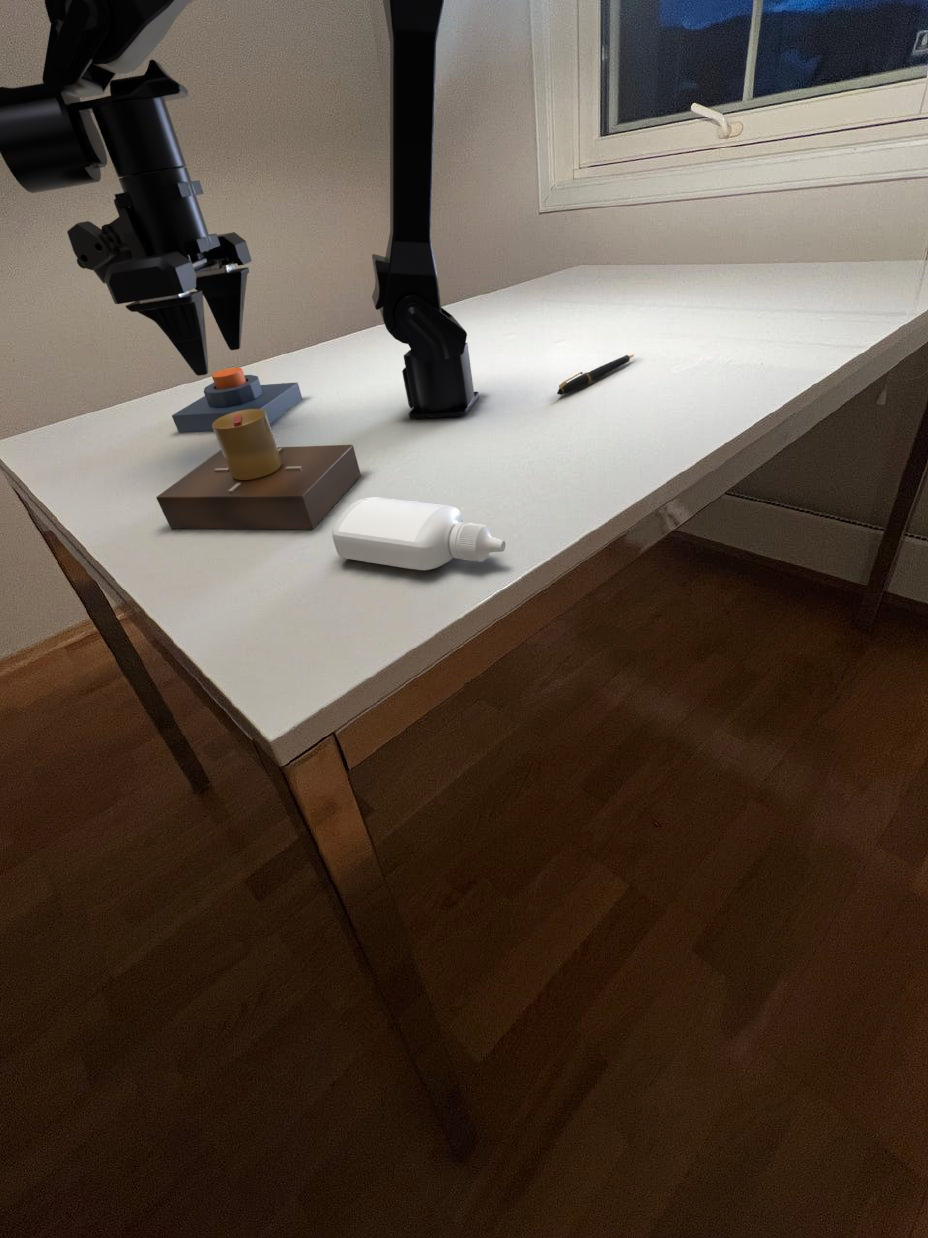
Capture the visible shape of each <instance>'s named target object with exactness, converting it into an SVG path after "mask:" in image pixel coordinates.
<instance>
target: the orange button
mask: <svg viewBox="0 0 928 1238" xmlns="http://www.w3.org/2000/svg"><path fill="white" fill-rule="evenodd" d="M244 375H245V374H244V370H243V368H242V367H229V368H228V367H227V368H225V369H221V370H218V371H215V372H214V373H212V374H211V378H212V381H213V383H215V386H216V389H217V390H218V389H228V388H232V387H236V386H239V385H242V384H244V383H246V379H245V376H244Z"/></svg>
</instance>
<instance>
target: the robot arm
mask: <svg viewBox="0 0 928 1238" xmlns="http://www.w3.org/2000/svg"><path fill="white" fill-rule="evenodd" d="M193 1H194V0H44V6H45V10H46V13H47V18H48V21H49V23H50V27H49V28H50V29H49V34H48V40H47V46H46V53H45V58H44V65H43V70H42V71H43V72H42V77H41V79H42V82H41V83H34V84H28V85H23V86H16V87H8V86H0V155H1V158H2V159H3V161H4V163H5V165H6V166H7V168H8V169H9V171H10V173H11V174H12V176H13V177H14V179H15V180H16V181H17V183H18V184H19V185H20V186H21V187H22V188H23V189H24V190H25V191H26V192H28V193H30V194H36V193H42V192H49V191H54V190H59V189H60V190H61V189H65V188H71V187H77V186H83V185H88V184H93V183H94V184H95V183H100V181H101V179H102V173H101V172H102V171H101V169H102V168H105V167H106V166H107V165H108V157H107V153H108V156H109V158H110V160H111V164H112V166H113V168H114V171H115V173H116V176H117V178H118V182H119V183H120V186H121V189H122V192H119V193H114V194H113V195H114V199H113V204H114V206H115V209H116V211H117V215H118V217H116V218H115V219H114V220H112V221H111V222H109V223H106V224H103V225H102V226H101V228H100V227H99V226H97V225H96V224H94V223H92V222H91V221H90V220H87V221H81V222H77V223H76V224H74V225H73V226H72V227H70V228H69V229H68V230H67V231H66V233H67V236H68V239H69V241H70V242H69V243H70V246H71V248H72V252H73V253H74V255H75V257H76V263H77V265H78V266H79V267H80V268H81V269H84V270H85V269H86V270H89V271H93V272H94V273H95V275H96V276H97V277H98V279H99V280H100V281H101V282H102V284H105V285H106V286H107V290H108V291H109V293H110V296H111V299H112V301H113V304H115V305H122V304H126V305H125V306H124V307H125V308H126V309H127V310H128V311H129V312H131V313H135V312H136V313H138V314H140V315H142V316H143V317H145V318H148V319H150V320H151V321H153V322H154V323H155V324H156V325H157V326H158V327H159V328H160V330H161V331H162V332H163V333H164V334H165V335H166V337H167V338H168V339H169V341H170V342H171V343H172V345H173V346H174V347H175V349H176V350H177V352H178V353H179V354H180V355H181V357H182V359H184V361H185V362H186V363H187V365H188V366H189V368H190V369H191V370H192V372H193V373H194V374H195V375H196V376H198V377H201V376H206V375H208V374H209V355H208V343H207V342H208V341H207V332H206V319H205V306H204V299H205V301H206V303H207V306H208V308H209V310H210V312H211V315H212V316H213V318H214V321H215V323H216V325H217V327H218V329H219V331H220V334H221V335H222V338H223V340H224V342H225V344H227V347H228V349H229V350H230V351H236V350H240V349H241V346H242V334H243V320H244V310H245V300H246V292H247V291H246V290H247V283H248V282H247V281H248V274H250V268H249V267H248V266H245V265H247V264H250V263H251V262H253V260H252V256H251V254H250V250H249V246H248V243H247V241H246V240H245V238H243V237H241V236H240V235H239V234H237V232H227V233H220V234H217V233H211V234H210V233H209V231H208V228H207V225H206V221H205V220H204V219H205V218H204V215H203V213H202V210H201V207H200V204H199V201H198V198H197V196H198V195H199V196H200V195H204V190H203V188H202V184H201V181H200V179H198V180H192V178H191V176H190V173H189V170H188V167H187V164H186V161H185V158H184V155H183V152H182V148H181V145H180V142H179V139H178V135H177V133H176V131H175V128H174V123H173V121H172V118H171V115H170V112H169V109H168V105H167V103H166V102H168V101H175V100H181V99H186V98H188V94H189V92H188V89H187V88H186V86H184V85H183V84H181V83H179V82H178V81H177V80H175V78H173V77H172V76H171V75H170V74H169V73H168V72H167V71H166V69H165V68H164V67H163V66H162V64H161V63H159V62H158V61H156V60H155V59H150V60H149V61H148V65H147V69H146V71H145V72H144V74H141V75H135V76H128V77H121V78H117V79H116V77H117V75H124V74H125V75H126V74H129V73H132V72H135V71H136V70H137V69H138V68H140V66H141V65H142V64H143V63H144V62H145V61H146V59H147V58H148V57H149V56H150V55H151V54H152V52H153V51H154V50H156V48H157V47H158V46H159V44H161V42H162V41H163V40H164V38H165V37H166V36H167V34H168V32H169V30H170V29H171V28H172V26H173V24H174V23H175V21H176V20H177V18H178V17H179V15H181V13H182V12H183V11H184V10H185V9H186V7H187V6H188V5H190V3H192V2H193ZM445 2H446V0H382V4H383V10H384V16H385V21H386V27H387V33H388V40H389V200H390V201H389V218H390V219H389V234H388V235H389V236H388V241H387V247H386V252H385V255H379V254H375V253H373V254H371V260H372V266H373V272H374V278H375V279H374V280H375V281H374V289H373V292H372V295H371V299H372V302H373V305H374V308H375V310H377V311H378V310H379V312H380V316H381V319H382V321H383V324H384V326H385V329H386V330H387V332H388V333H389V334H390V335H391V337H393V338H394V339H395V340H396V341H398V342H400V343H401V344H405V345H408V346H409V348H410V349H409V350H408V351H407V352H406V353H404V354H403V360H404V366H405V367H404V368H403V369H402V370H401V373H402V379H403V383H404V388H405V393H406V399H407V404H408V407H409V408H410V409H411V410H410V411H409V412H408V418H409V419H428V418H430V419H431V418H447V417H448V418H449V417H451V418H452V417H463V416H466V415H468V413H469V411H470V410H471V408H472V407H473V406H474V404H475V403H476V402H477V400H478V399H479V397H480V392H479V391H475V390H474V381H473V374H472V366H471V360H470V359H471V358H470V351H469V344H468V342H467V338H468V333H467V331H466V330H465V329H464V327H463V326H462V325H461V324H460V323H459V321H458V320H457V319H456V318H455V317H454V316H453V315H452V314H451V313H450V312H448V311H447V310H446V309H444V308H443V307H442V304H441V297H440V296H441V294H440V286H439V278H438V272H437V271H438V270H437V265H436V261H435V254H434V249H433V244H432V243H433V242H432V209H433V208H432V206H433V178H434V177H433V173H434V172H433V171H434V144H435V143H434V141H435V139H434V138H435V113H436V112H435V110H436V109H435V108H436V77H437V76H436V75H437V74H436V73H437V43H438V42H437V41H438V37H439V30H440V26H441V22H442V16H443V11H444V6H445ZM108 89H109V93H110V95H107V96H102V95H104V94H106V92H107V90H108ZM97 96H102V97H99V98H94V99H87V100H82V101H81V98H82V99H85V98H92V97H97ZM92 114H93V115H92ZM93 116H94V119H95V121H94V119H93ZM95 122H96V123H95ZM96 124H97V125H96ZM97 126H98V127H97ZM99 132H100V133H99ZM105 147H106V148H105ZM106 150H107V152H106ZM235 265H237V266H245V267H240V268H236V266H235ZM192 290H196V291H192Z"/></svg>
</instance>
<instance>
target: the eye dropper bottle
mask: <svg viewBox="0 0 928 1238" xmlns="http://www.w3.org/2000/svg"><path fill="white" fill-rule="evenodd" d="M331 537H332V541H333V545H334V547H335V551H336V553H337V555H338V556H339V557H340V558H342V559H347V560H351V561H352V560H354V561H359V562H364V563H370V564H371V563H372V564H378V565H384V566H389V567H390V566H391V567H397V568H403V569H409V570H418V571H429V570H434V569H437V568H439V567H442V566H443V565H446V564H448V562H450V561H451V560H453V559H454V558H455V559H459V560H466V561H471V562H477V563H478V562H479V563H482V562H484V561H486V559H488V557H489V555H490V553H503V552H505V549H506V541H505V540H504V539H500V538H498V537H495V536H492V531H491V529H490V527H489V526H488V525H486V524H480V523H479V524H478V523H471V522H464V518H463V515H462V513H461V511H460V510H459V509H458V508H457V507H455V506H452V505H447V504H439V503H431V502H422V501H413V500H412V501H411V500H406V499H405V500H404V499H395V498H386V497H376V496H375V497H373V496H371V497H365V498H361V499H358V500H356V501H354V502H353V503H352V504H350V505H349V506H348V507H347V508H346V509H345V510H344V511H343V512H342V513H341V514H340V515H339V517H338V519H336V522H335V524H334V525H333V528H332V531H331Z"/></svg>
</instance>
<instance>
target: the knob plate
mask: <svg viewBox="0 0 928 1238" xmlns="http://www.w3.org/2000/svg"><path fill="white" fill-rule="evenodd" d="M277 448H278V451H279V454H280V457H281V460H282V466H281V467H280V468H279V469H278V470H277V471H275V472H273V473H271V474H269V475H267V476H264V477H261V478H257V479H252V480H236V479H234V478H233V477H232V476H231V473H230V471H229V468H228V465H227V463H226V460H225V458H224V455H223V452H222V450H221V449H220V450H218V451H217V452H215V454H213V455H211V456H210V457H209V458H207V459H206V460H205V461H203V462H202V463H201V464H199V465H198V466H196V467H195V468H194V469H192V470H191V471H190V472H188V473H187V474H186V475H184V476H183V477H182V478H180V479H179V480H178V481H176V482H174V484H172V485H171V486H169V487H168V488H167V489H165V490H164V491H162V492H161V493H160V494H157V496H156V498H155V499H156V500H157V501H156V502H157V503H158V505H159V507H160V509H161V511H162V513H163V515H164V517H165V520H166V521H167V524H168V526H169V528H170V529H213V530H215V529H222V530H225V529H227V530H314V529H315V528H316V527H317V526H318V524H319V523H320V522H321V521H322V520H323V519H324V518H325V516H326V515H328V513H329V512H330V511H331V510H332V509H333V508H334V506H335V505H336V504H337V503H338V502H339V501H340V500H341V499H342V497H343V496H344V495H345V494H346V493H347V492H348V491H349V490H350V488H351V487H352V486H353V485H354V484H355V483H356V482H357V480H358V479H359V478H360V477H361V476H362V473H361V469H360V467H359V463H358V458H357V454H356V451H355V447H354V445H353V444H335V445H307V446H304V445H303V446H302V445H301V446H279V447H278V446H277Z"/></svg>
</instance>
